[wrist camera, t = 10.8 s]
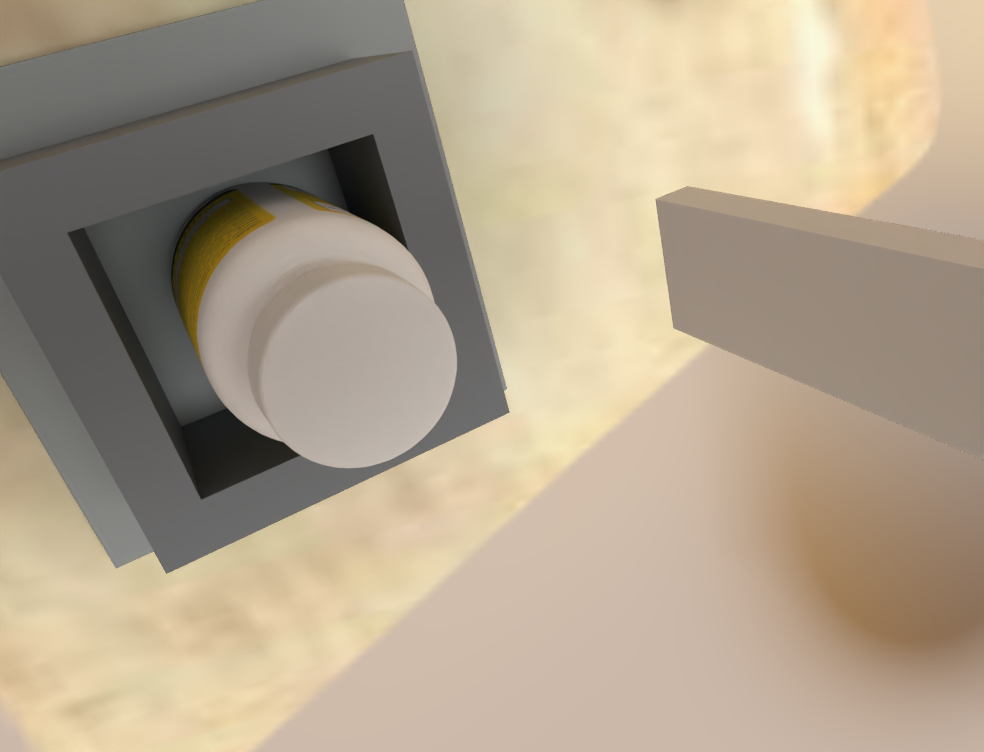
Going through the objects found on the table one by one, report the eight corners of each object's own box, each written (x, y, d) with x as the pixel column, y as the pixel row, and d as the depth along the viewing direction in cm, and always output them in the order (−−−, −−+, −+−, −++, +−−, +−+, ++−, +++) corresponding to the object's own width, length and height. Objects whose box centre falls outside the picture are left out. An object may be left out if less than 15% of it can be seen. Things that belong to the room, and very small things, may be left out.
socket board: (-141, 105, 19) (-235, 110, 14) (378, -27, 23) (465, -64, 18) (114, 544, 25) (121, 670, 20) (488, 376, 30) (579, 440, 24)
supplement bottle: (189, 375, 23) (243, 534, 15) (149, 191, 21) (187, 255, 13) (363, 341, 25) (496, 464, 17) (343, 170, 23) (482, 214, 15)
